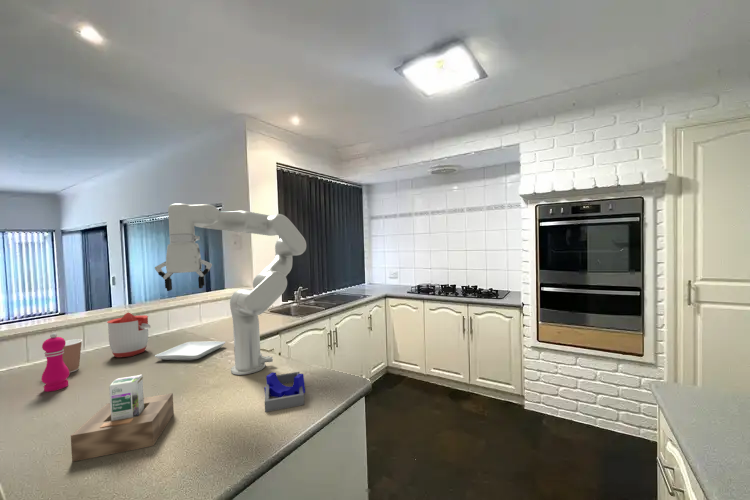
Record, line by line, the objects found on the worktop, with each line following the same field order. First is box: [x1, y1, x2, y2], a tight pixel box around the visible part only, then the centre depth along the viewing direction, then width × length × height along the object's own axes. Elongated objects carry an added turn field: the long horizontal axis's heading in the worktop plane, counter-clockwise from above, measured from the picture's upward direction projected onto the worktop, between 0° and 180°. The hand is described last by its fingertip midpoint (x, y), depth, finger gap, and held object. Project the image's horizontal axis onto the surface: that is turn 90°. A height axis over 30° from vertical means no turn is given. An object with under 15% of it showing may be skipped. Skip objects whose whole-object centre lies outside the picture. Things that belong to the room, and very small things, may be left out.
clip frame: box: [264, 371, 305, 413], centre depth 102 cm, size 11×19×3 cm, turn 17°
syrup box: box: [108, 373, 145, 421], centre depth 83 cm, size 6×6×14 cm
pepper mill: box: [41, 332, 71, 392], centre depth 116 cm, size 7×7×20 cm
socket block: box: [70, 392, 175, 462], centre depth 83 cm, size 16×16×6 cm
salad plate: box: [154, 340, 226, 361], centre depth 148 cm, size 21×21×3 cm
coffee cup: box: [63, 338, 83, 374], centre depth 133 cm, size 10×10×12 cm
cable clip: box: [263, 371, 306, 398], centre depth 102 cm, size 12×4×6 cm, turn 71°
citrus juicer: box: [106, 312, 151, 358], centre depth 153 cm, size 16×17×20 cm
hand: (185, 289), depth 110 cm, fingers open, 9 cm apart
